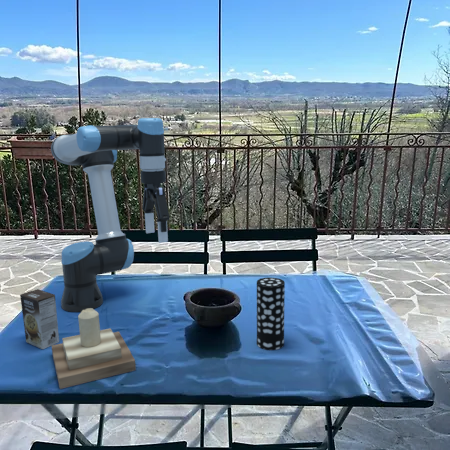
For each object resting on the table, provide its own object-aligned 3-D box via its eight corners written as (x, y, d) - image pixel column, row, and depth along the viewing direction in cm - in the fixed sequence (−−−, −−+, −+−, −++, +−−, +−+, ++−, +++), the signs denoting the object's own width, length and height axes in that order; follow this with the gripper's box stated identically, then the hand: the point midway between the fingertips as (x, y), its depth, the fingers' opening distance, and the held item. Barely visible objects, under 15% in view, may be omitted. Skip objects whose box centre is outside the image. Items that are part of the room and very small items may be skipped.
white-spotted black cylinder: (266, 352, 133) (266, 288, 129) (251, 341, 140) (251, 280, 136) (289, 346, 137) (290, 283, 133) (274, 335, 144) (274, 275, 140)
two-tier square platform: (52, 354, 134) (50, 336, 133) (119, 340, 143) (118, 322, 141) (59, 389, 117) (57, 368, 115) (135, 370, 125) (134, 350, 124)
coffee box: (25, 342, 142) (18, 294, 139) (43, 334, 147) (37, 288, 144) (42, 350, 137) (36, 300, 134) (60, 341, 142) (55, 293, 139)
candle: (95, 348, 125) (92, 314, 123) (77, 346, 126) (73, 313, 124) (104, 338, 131) (101, 306, 128) (86, 337, 132) (83, 305, 129)
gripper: (178, 172, 128) (181, 244, 133) (152, 165, 150) (156, 227, 155) (153, 174, 125) (156, 248, 130) (130, 167, 147) (134, 230, 152)
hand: (156, 237), depth 143 cm, fingers open, 13 cm apart
